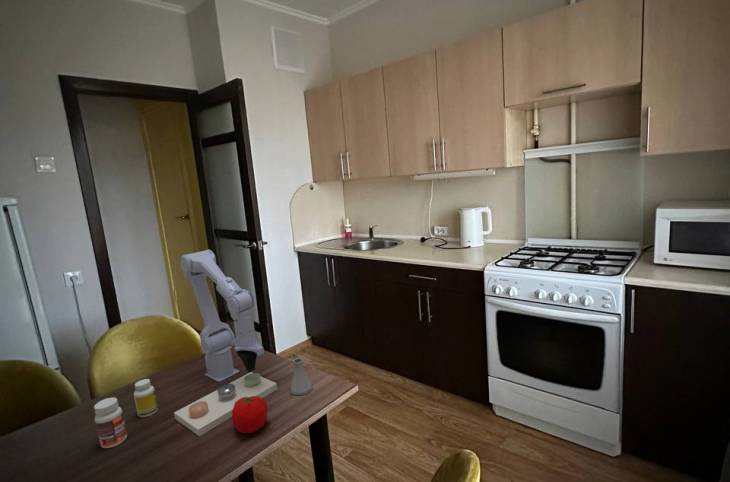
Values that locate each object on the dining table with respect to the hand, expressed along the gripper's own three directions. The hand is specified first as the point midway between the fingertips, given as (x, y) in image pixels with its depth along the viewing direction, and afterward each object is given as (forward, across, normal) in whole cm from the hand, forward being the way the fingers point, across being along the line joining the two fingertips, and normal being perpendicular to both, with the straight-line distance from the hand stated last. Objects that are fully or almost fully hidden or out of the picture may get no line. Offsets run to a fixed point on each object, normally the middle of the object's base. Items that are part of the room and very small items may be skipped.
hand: (250, 370), depth 121 cm
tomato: (+7, +16, -12) cm, 21 cm away
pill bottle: (+7, -12, -36) cm, 39 cm away
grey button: (+3, 0, -9) cm, 10 cm away
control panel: (+6, 0, -9) cm, 11 cm away
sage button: (+4, 0, 0) cm, 4 cm away
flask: (+7, +14, +8) cm, 18 cm away
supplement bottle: (+7, -18, -25) cm, 31 cm away
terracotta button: (+4, 0, -18) cm, 18 cm away
